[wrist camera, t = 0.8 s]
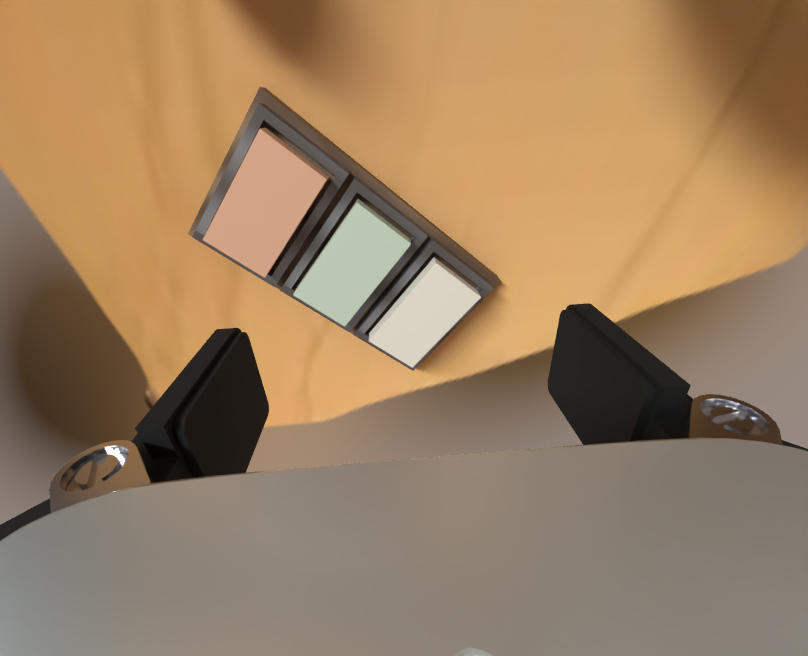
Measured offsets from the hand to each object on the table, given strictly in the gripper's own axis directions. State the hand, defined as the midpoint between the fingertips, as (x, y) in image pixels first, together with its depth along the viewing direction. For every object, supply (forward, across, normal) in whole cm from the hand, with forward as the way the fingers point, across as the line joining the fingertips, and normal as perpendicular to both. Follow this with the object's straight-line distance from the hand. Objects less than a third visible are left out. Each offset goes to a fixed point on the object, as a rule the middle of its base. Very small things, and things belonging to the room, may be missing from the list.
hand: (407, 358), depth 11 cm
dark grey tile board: (+28, +4, +5) cm, 29 cm away
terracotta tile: (+25, +11, -1) cm, 27 cm away
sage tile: (+25, +4, +5) cm, 26 cm away
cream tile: (+25, -3, +11) cm, 28 cm away
